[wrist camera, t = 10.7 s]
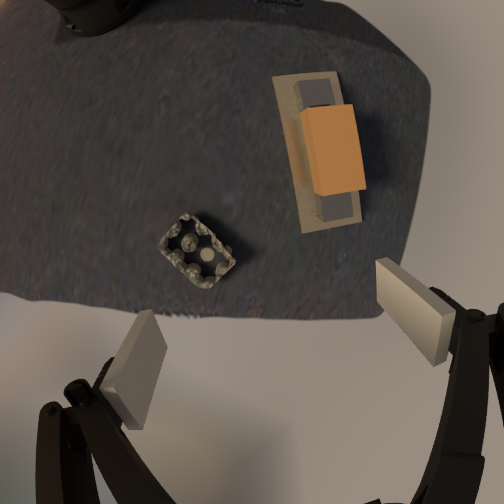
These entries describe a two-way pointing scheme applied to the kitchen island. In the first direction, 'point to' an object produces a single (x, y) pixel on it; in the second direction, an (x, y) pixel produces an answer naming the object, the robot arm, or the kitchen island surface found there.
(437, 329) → the robot arm
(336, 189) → the orange toy brick
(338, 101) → the beige grey stepped block
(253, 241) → the kitchen island surface
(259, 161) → the kitchen island surface
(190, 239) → the egg carton
